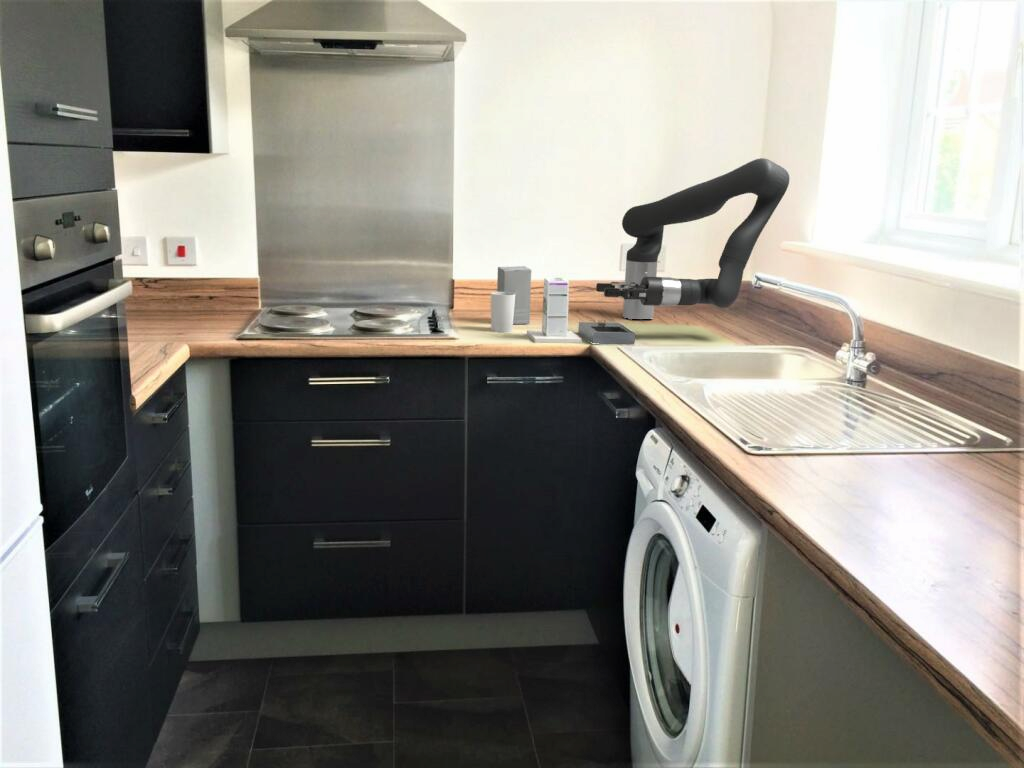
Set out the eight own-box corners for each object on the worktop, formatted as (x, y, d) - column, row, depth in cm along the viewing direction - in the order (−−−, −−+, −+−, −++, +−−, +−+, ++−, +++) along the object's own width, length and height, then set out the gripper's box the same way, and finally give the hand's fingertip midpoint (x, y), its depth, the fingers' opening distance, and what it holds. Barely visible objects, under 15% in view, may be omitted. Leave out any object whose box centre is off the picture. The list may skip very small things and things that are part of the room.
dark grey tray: (578, 333, 253) (579, 318, 252) (617, 333, 254) (618, 318, 254) (592, 344, 237) (593, 328, 236) (634, 344, 239) (635, 329, 238)
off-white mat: (526, 333, 248) (526, 330, 248) (570, 334, 250) (571, 330, 250) (535, 342, 237) (535, 338, 237) (581, 342, 239) (581, 339, 239)
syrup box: (567, 336, 241) (570, 280, 238) (545, 336, 240) (547, 279, 237) (562, 332, 247) (565, 277, 243) (540, 332, 246) (543, 277, 242)
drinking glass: (499, 327, 257) (500, 291, 254) (519, 330, 253) (520, 293, 251) (484, 330, 251) (485, 293, 249) (504, 333, 248) (506, 295, 245)
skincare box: (522, 320, 269) (525, 265, 265) (530, 324, 262) (533, 268, 259) (494, 321, 266) (496, 265, 263) (502, 325, 260) (504, 268, 256)
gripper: (653, 273, 252) (594, 271, 249) (670, 281, 238) (608, 279, 236) (651, 301, 254) (592, 299, 251) (667, 310, 240) (606, 308, 237)
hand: (600, 289), depth 243 cm, fingers open, 8 cm apart
